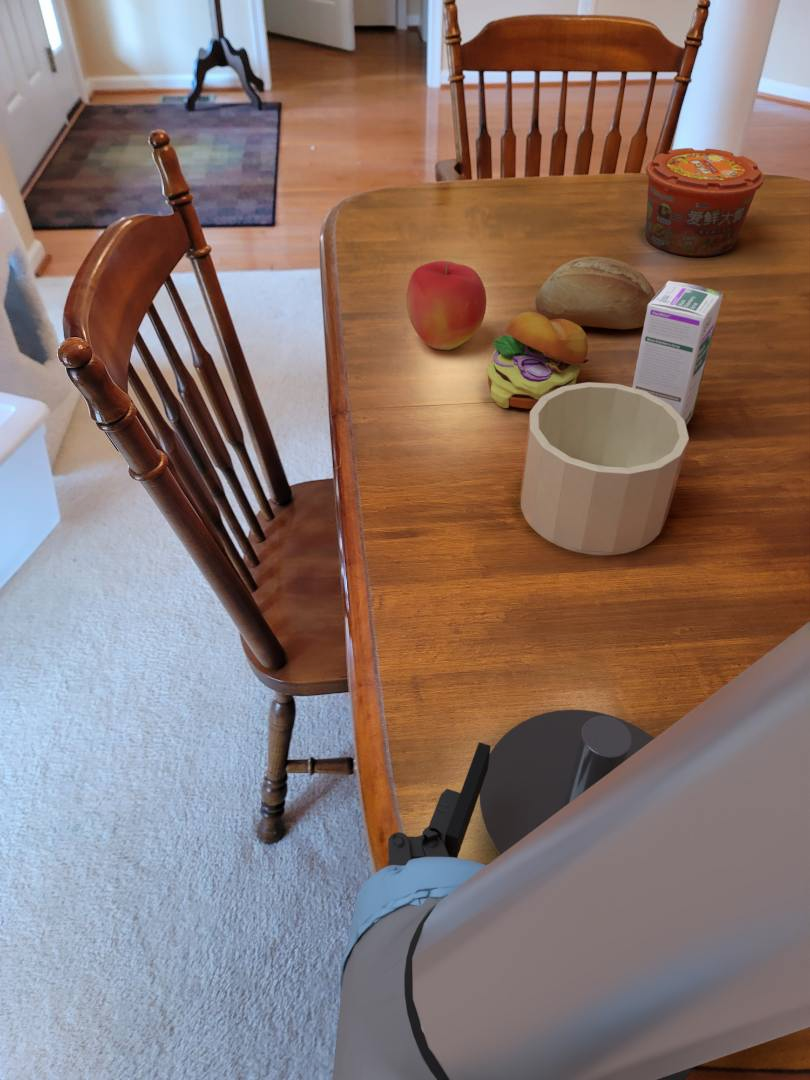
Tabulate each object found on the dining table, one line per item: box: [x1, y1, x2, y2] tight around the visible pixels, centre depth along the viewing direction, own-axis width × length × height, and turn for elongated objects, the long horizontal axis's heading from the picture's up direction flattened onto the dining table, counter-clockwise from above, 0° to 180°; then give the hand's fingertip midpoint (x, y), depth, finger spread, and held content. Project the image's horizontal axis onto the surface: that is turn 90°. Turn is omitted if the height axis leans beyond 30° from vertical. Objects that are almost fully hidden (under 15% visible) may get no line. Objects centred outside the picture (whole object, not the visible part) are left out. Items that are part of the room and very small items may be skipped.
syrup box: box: [631, 280, 724, 426], centre depth 85 cm, size 6×6×14 cm
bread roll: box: [535, 256, 657, 330], centre depth 103 cm, size 10×15×8 cm, turn 80°
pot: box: [519, 381, 690, 556], centre depth 76 cm, size 14×14×10 cm
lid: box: [478, 709, 656, 857], centre depth 54 cm, size 15×15×9 cm
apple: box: [405, 260, 487, 351], centre depth 98 cm, size 10×10×10 cm
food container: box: [644, 147, 765, 258], centre depth 120 cm, size 16×16×11 cm
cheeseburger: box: [486, 310, 591, 410], centre depth 92 cm, size 10×11×10 cm
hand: (590, 789), depth 51 cm, fingers open, 13 cm apart
